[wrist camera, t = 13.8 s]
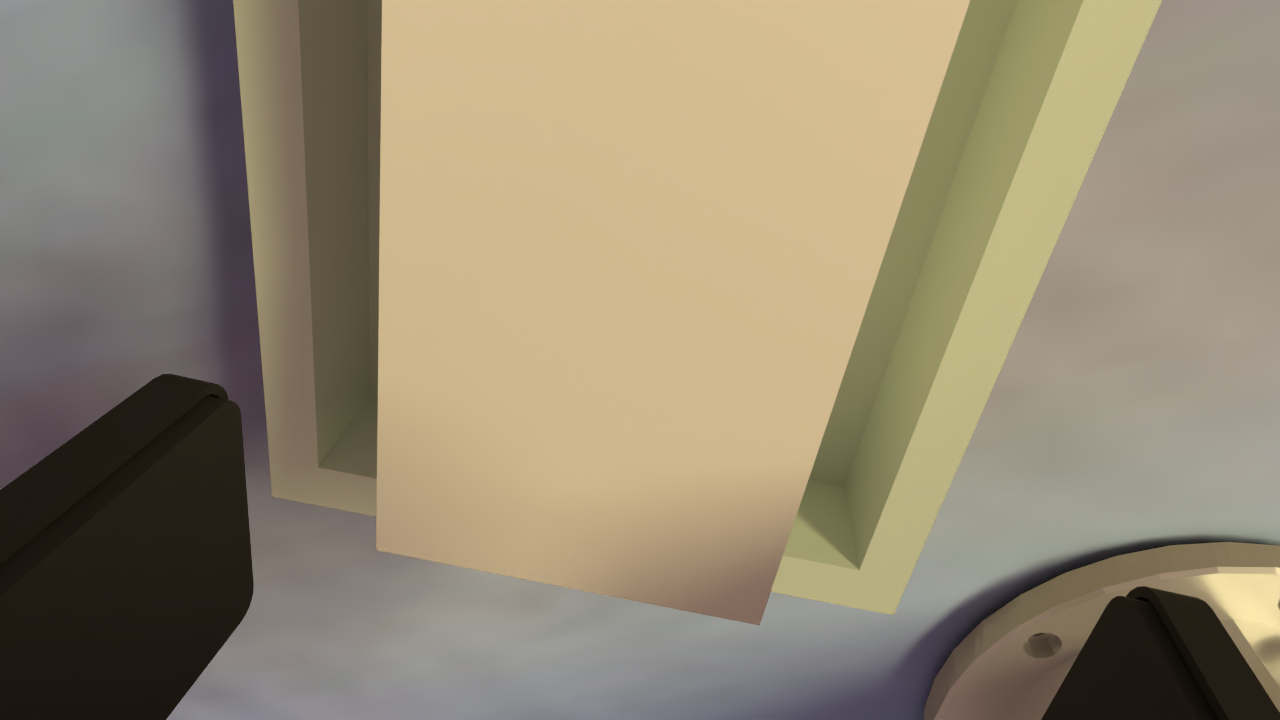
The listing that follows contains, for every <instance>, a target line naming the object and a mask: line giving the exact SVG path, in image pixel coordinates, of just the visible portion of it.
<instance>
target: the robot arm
mask: <svg viewBox="0 0 1280 720" xmlns="http://www.w3.org/2000/svg"><path fill="white" fill-rule="evenodd" d="M252 595H253V572H252V558H251V545H250V532H249V518H248V505H247V491H246V478H245V464H244V451H243V438H242V424H241V414H240V409H239V407H238V405H237V404H236V403H234V402H233V401H229V400H228V396H227V393H226V391H225V390H224V388H223V387H221V386H220V385H218V384H214V383H209V382H205V381H200V380H196V379H191V378H186V377H182V376H177V375H173V374H162V375H160V376H158V377H156V378H154V379H153V380H152V381H150V382H149V383H148V384H146V385H145V386H143V387H142V388H141V389H139V390H138V391H137V392H135V393H134V394H132V395H131V396H130V397H128V398H127V399H125V400H124V401H123V402H121V403H120V404H119V405H117V406H116V407H114V408H113V409H112V410H110V411H109V412H108V413H106V414H105V415H103V416H102V417H101V418H99V419H98V420H97V421H95V422H94V423H92V424H91V425H90V426H88V427H87V428H85V429H84V430H83V431H81V432H80V433H79V434H77V435H76V436H74V437H73V438H72V439H70V440H69V441H68V442H66V443H65V444H63V445H62V446H61V447H59V448H58V449H57V450H55V451H54V452H52V453H51V454H50V455H48V456H47V457H45V458H44V459H43V460H41V461H40V462H39V463H37V464H36V465H34V466H33V467H32V468H30V469H29V470H28V471H26V472H25V473H23V474H22V475H21V476H19V477H18V478H17V479H15V480H14V481H12V482H11V483H10V484H8V485H7V486H6V487H4V488H3V489H1V490H0V720H166V719H167V717H168V716H169V715H170V714H171V712H172V711H173V710H174V708H175V707H176V706H177V704H178V703H179V702H180V701H181V699H182V698H183V697H184V695H185V694H186V693H187V691H188V690H189V689H190V688H191V686H192V685H193V684H194V682H195V681H196V680H197V678H198V677H199V676H200V674H201V673H202V672H203V671H204V669H205V668H206V667H207V665H208V664H209V663H210V661H211V660H212V659H213V658H214V656H215V655H216V654H217V652H218V651H219V650H220V648H221V647H222V646H223V645H224V643H225V642H226V641H227V639H228V638H229V637H230V635H231V634H232V633H233V632H234V630H235V629H236V628H237V626H238V625H239V624H240V622H241V621H242V619H243V618H244V616H245V615H246V612H247V610H248V608H249V606H250V603H251V600H252ZM924 720H1280V546H1278V545H1264V544H1251V543H1238V542H1216V543H1200V544H1184V545H1170V546H1165V547H1160V548H1154V549H1149V550H1144V551H1139V552H1134V553H1128V554H1123V555H1118V556H1114V557H1111V558H1108V559H1105V560H1102V561H1099V562H1096V563H1093V564H1090V565H1087V566H1084V567H1081V568H1078V569H1075V570H1072V571H1069V572H1066V573H1064V574H1062V575H1060V576H1057V577H1055V578H1053V579H1051V580H1049V581H1047V582H1045V583H1043V584H1041V585H1039V586H1037V587H1035V588H1033V589H1031V590H1029V591H1027V592H1025V593H1023V594H1021V595H1019V596H1018V597H1016V598H1015V599H1013V600H1012V601H1011V602H1009V603H1008V604H1006V605H1005V606H1003V607H1002V608H1001V609H999V610H998V611H996V612H995V613H993V614H992V615H990V616H989V617H988V618H986V619H985V620H983V621H982V622H981V623H980V624H979V625H978V626H977V627H976V628H975V629H974V630H973V631H972V632H971V633H970V634H969V635H968V636H967V637H966V638H965V639H964V640H963V641H962V642H961V643H960V644H959V645H958V646H957V647H956V648H955V649H954V650H953V652H952V653H951V655H950V656H949V658H948V659H947V661H946V662H945V664H944V665H943V667H942V668H941V670H940V671H939V673H938V674H937V676H936V677H935V679H934V682H933V685H932V688H931V691H930V693H929V696H928V699H927V702H926V705H925V708H924Z"/></svg>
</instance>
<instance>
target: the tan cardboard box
mask: <svg viewBox="0 0 1280 720" xmlns="http://www.w3.org/2000/svg"><path fill="white" fill-rule="evenodd" d="M969 3H970V0H382V47H381V141H380V235H379V330H378V424H377V519H376V550H379V551H384V552H389V553H394V554H399V555H404V556H409V557H414V558H419V559H424V560H429V561H435V562H440V563H445V564H450V565H455V566H460V567H465V568H470V569H475V570H480V571H486V572H491V573H496V574H501V575H506V576H511V577H516V578H521V579H526V580H531V581H537V582H542V583H547V584H552V585H557V586H562V587H567V588H572V589H577V590H582V591H588V592H593V593H598V594H603V595H608V596H613V597H618V598H623V599H628V600H633V601H639V602H644V603H649V604H654V605H659V606H664V607H669V608H674V609H679V610H684V611H690V612H695V613H700V614H705V615H710V616H715V617H720V618H725V619H730V620H735V621H740V622H746V623H751V624H756V625H760V622H761V619H762V616H763V613H764V610H765V607H766V604H767V601H768V598H769V595H770V592H771V589H772V586H773V583H774V580H775V577H776V574H777V571H778V569H779V566H780V563H781V560H782V557H783V554H784V551H785V548H786V545H787V542H788V539H789V536H790V533H791V530H792V527H793V524H794V521H795V518H796V515H797V512H798V509H799V506H800V503H801V500H802V497H803V494H804V492H805V489H806V486H807V483H808V480H809V477H810V474H811V471H812V468H813V465H814V462H815V459H816V456H817V453H818V450H819V447H820V444H821V441H822V438H823V435H824V432H825V429H826V426H827V423H828V420H829V417H830V414H831V412H832V409H833V406H834V403H835V400H836V397H837V394H838V391H839V388H840V385H841V382H842V379H843V376H844V373H845V370H846V367H847V364H848V361H849V358H850V355H851V352H852V349H853V346H854V343H855V340H856V337H857V334H858V332H859V329H860V326H861V323H862V320H863V317H864V314H865V311H866V308H867V305H868V302H869V299H870V296H871V293H872V290H873V287H874V284H875V281H876V278H877V275H878V272H879V269H880V266H881V263H882V260H883V257H884V255H885V252H886V249H887V246H888V243H889V240H890V237H891V234H892V231H893V228H894V225H895V222H896V219H897V216H898V213H899V210H900V207H901V204H902V201H903V198H904V195H905V192H906V189H907V186H908V183H909V180H910V177H911V175H912V172H913V169H914V166H915V163H916V160H917V157H918V154H919V151H920V148H921V145H922V142H923V139H924V136H925V133H926V130H927V127H928V124H929V121H930V118H931V115H932V112H933V109H934V106H935V103H936V100H937V98H938V95H939V92H940V89H941V86H942V83H943V80H944V77H945V74H946V71H947V68H948V65H949V62H950V59H951V56H952V53H953V50H954V47H955V44H956V41H957V38H958V35H959V32H960V29H961V26H962V23H963V20H964V18H965V15H966V12H967V9H968V6H969Z"/></svg>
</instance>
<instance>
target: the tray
mask: <svg viewBox="0 0 1280 720" xmlns="http://www.w3.org/2000/svg"><path fill="white" fill-rule="evenodd" d="M1161 1H1162V0H970V3H969V6H968V9H967V12H966V15H965V18H964V20H963V23H962V26H961V29H960V32H959V35H958V38H957V41H956V44H955V47H954V50H953V53H952V56H951V59H950V62H949V65H948V68H947V71H946V74H945V77H944V80H943V83H942V86H941V89H940V92H939V95H938V98H937V100H936V103H935V106H934V109H933V112H932V115H931V118H930V121H929V124H928V127H927V130H926V133H925V136H924V139H923V142H922V145H921V148H920V151H919V154H918V157H917V160H916V163H915V166H914V169H913V172H912V175H911V177H910V180H909V183H908V186H907V189H906V192H905V195H904V198H903V201H902V204H901V207H900V210H899V213H898V216H897V219H896V222H895V225H894V228H893V231H892V234H891V237H890V240H889V243H888V246H887V249H886V252H885V255H884V257H883V260H882V263H881V266H880V269H879V272H878V275H877V278H876V281H875V284H874V287H873V290H872V293H871V296H870V299H869V302H868V305H867V308H866V311H865V314H864V317H863V320H862V323H861V326H860V329H859V332H858V334H857V337H856V340H855V343H854V346H853V349H852V352H851V355H850V358H849V361H848V364H847V367H846V370H845V373H844V376H843V379H842V382H841V385H840V388H839V391H838V394H837V397H836V400H835V403H834V406H833V409H832V412H831V414H830V417H829V420H828V423H827V426H826V429H825V432H824V435H823V438H822V441H821V444H820V447H819V450H818V453H817V456H816V459H815V462H814V465H813V468H812V471H811V474H810V477H809V480H808V483H807V486H806V489H805V492H804V494H803V497H802V500H801V503H800V506H799V509H798V512H797V515H796V518H795V521H794V524H793V527H792V530H791V533H790V536H789V539H788V542H787V545H786V548H785V551H784V554H783V557H782V560H781V563H780V566H779V569H778V571H777V574H776V577H775V580H774V583H773V586H772V589H771V592H775V593H780V594H786V595H791V596H796V597H801V598H807V599H812V600H817V601H822V602H828V603H833V604H838V605H843V606H849V607H854V608H859V609H864V610H870V611H875V612H880V613H886V614H891V615H894V613H895V610H896V608H897V606H898V604H899V601H900V599H901V597H902V594H903V592H904V590H905V588H906V585H907V583H908V581H909V578H910V576H911V574H912V571H913V569H914V567H915V565H916V562H917V560H918V558H919V555H920V553H921V551H922V549H923V546H924V544H925V542H926V539H927V537H928V535H929V533H930V530H931V528H932V526H933V523H934V521H935V519H936V517H937V514H938V512H939V510H940V507H941V505H942V503H943V500H944V498H945V496H946V494H947V491H948V489H949V487H950V484H951V482H952V480H953V478H954V475H955V473H956V471H957V468H958V466H959V464H960V462H961V459H962V457H963V455H964V452H965V450H966V448H967V446H968V443H969V441H970V439H971V436H972V434H973V432H974V429H975V427H976V425H977V423H978V420H979V418H980V416H981V413H982V411H983V409H984V407H985V404H986V402H987V400H988V397H989V395H990V393H991V391H992V388H993V386H994V384H995V381H996V379H997V377H998V375H999V372H1000V370H1001V368H1002V365H1003V363H1004V361H1005V358H1006V356H1007V354H1008V352H1009V349H1010V347H1011V345H1012V342H1013V340H1014V338H1015V336H1016V333H1017V331H1018V329H1019V326H1020V324H1021V322H1022V320H1023V317H1024V315H1025V313H1026V310H1027V308H1028V306H1029V304H1030V301H1031V299H1032V297H1033V294H1034V292H1035V290H1036V287H1037V285H1038V283H1039V281H1040V278H1041V276H1042V274H1043V271H1044V269H1045V267H1046V265H1047V262H1048V260H1049V258H1050V255H1051V253H1052V251H1053V249H1054V246H1055V244H1056V242H1057V239H1058V237H1059V235H1060V232H1061V230H1062V228H1063V226H1064V223H1065V221H1066V219H1067V216H1068V214H1069V212H1070V210H1071V207H1072V205H1073V203H1074V200H1075V198H1076V196H1077V194H1078V191H1079V189H1080V187H1081V184H1082V182H1083V180H1084V178H1085V175H1086V173H1087V171H1088V168H1089V166H1090V164H1091V161H1092V159H1093V157H1094V155H1095V152H1096V150H1097V148H1098V145H1099V143H1100V141H1101V139H1102V136H1103V134H1104V132H1105V129H1106V127H1107V125H1108V123H1109V120H1110V118H1111V116H1112V113H1113V111H1114V109H1115V107H1116V104H1117V102H1118V100H1119V97H1120V95H1121V93H1122V90H1123V88H1124V86H1125V84H1126V81H1127V79H1128V77H1129V74H1130V72H1131V70H1132V68H1133V65H1134V63H1135V61H1136V58H1137V56H1138V54H1139V52H1140V49H1141V47H1142V45H1143V42H1144V40H1145V38H1146V36H1147V33H1148V31H1149V29H1150V26H1151V24H1152V22H1153V19H1154V17H1155V15H1156V13H1157V10H1158V8H1159V6H1160V3H1161ZM233 5H234V18H235V30H236V43H237V56H238V69H239V81H240V94H241V107H242V119H243V132H244V145H245V157H246V170H247V183H248V195H249V208H250V221H251V233H252V246H253V259H254V271H255V284H256V297H257V310H258V322H259V335H260V348H261V360H262V373H263V386H264V398H265V411H266V424H267V436H268V449H269V462H270V474H271V487H272V497H276V498H281V499H286V500H291V501H297V502H302V503H307V504H313V505H318V506H323V507H328V508H334V509H339V510H344V511H349V512H355V513H360V514H365V515H370V516H376V517H377V424H378V330H379V235H380V141H381V47H382V0H233Z"/></svg>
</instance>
